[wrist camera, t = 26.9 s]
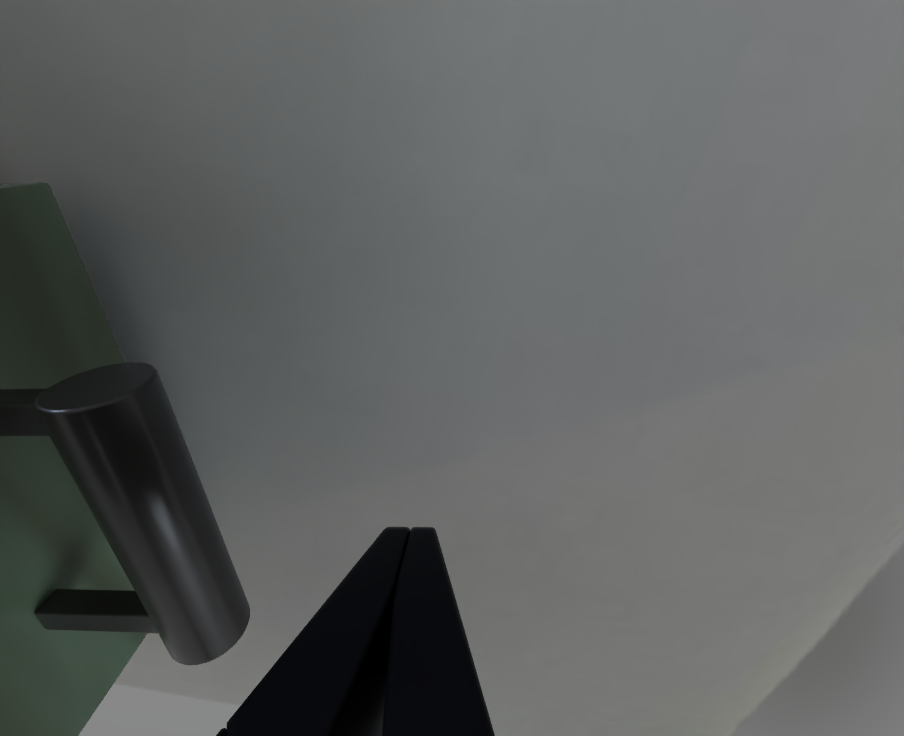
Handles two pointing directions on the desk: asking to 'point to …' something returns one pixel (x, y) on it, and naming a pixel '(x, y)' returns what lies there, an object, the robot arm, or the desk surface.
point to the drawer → (90, 494)
